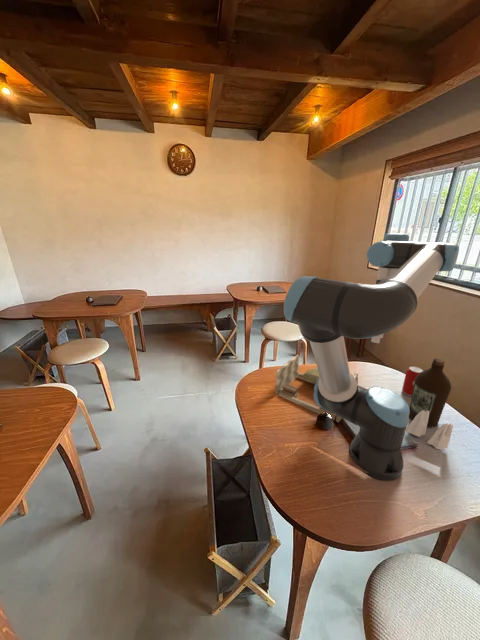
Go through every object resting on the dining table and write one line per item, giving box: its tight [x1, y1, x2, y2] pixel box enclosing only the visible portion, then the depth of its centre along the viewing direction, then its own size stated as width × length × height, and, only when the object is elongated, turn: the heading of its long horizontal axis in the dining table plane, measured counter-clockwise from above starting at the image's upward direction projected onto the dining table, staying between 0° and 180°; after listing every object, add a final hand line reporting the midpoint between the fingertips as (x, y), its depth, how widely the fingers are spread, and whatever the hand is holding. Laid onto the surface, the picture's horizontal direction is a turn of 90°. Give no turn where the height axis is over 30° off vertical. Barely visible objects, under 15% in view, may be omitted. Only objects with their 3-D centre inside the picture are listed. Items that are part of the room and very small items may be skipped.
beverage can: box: [401, 366, 424, 398], centre depth 114 cm, size 6×6×12 cm
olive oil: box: [409, 357, 452, 428], centre depth 96 cm, size 11×11×25 cm
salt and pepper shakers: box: [405, 410, 454, 451], centre depth 89 cm, size 12×4×11 cm, turn 45°
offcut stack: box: [280, 384, 299, 398], centre depth 114 cm, size 3×7×4 cm, turn 52°
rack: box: [274, 354, 359, 423], centre depth 112 cm, size 19×27×12 cm
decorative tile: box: [303, 367, 359, 385], centre depth 121 cm, size 19×6×20 cm
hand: (377, 339), depth 101 cm, fingers open, 5 cm apart
